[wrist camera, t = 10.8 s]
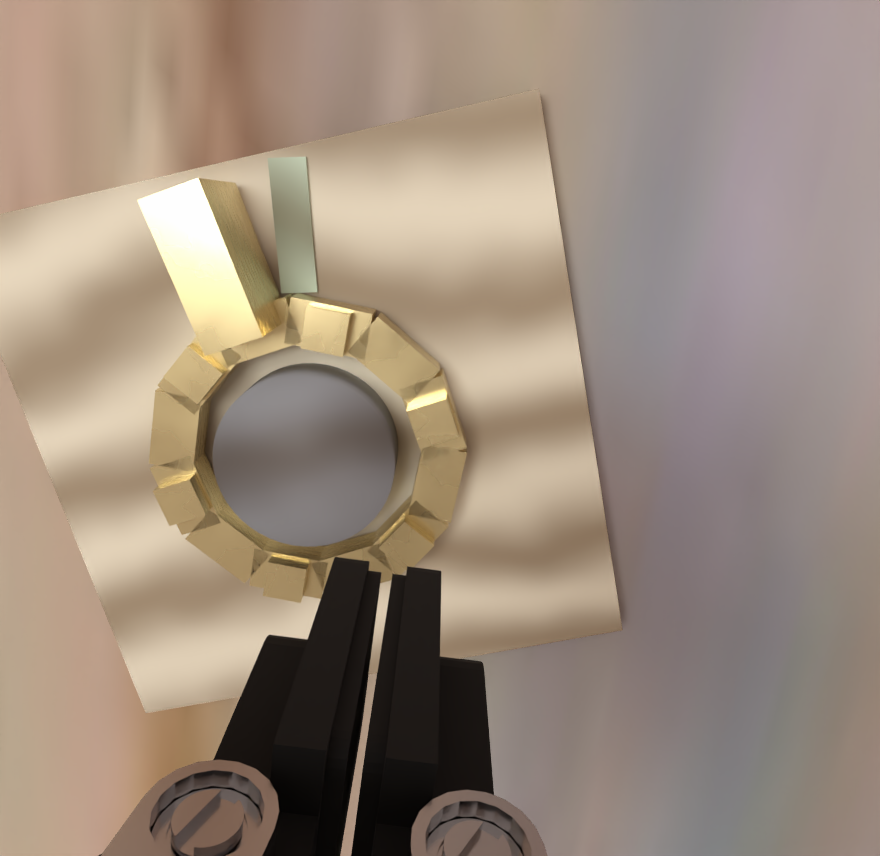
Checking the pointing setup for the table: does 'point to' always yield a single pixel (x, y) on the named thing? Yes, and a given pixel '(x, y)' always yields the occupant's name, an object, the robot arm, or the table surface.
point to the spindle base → (374, 252)
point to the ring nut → (261, 332)
